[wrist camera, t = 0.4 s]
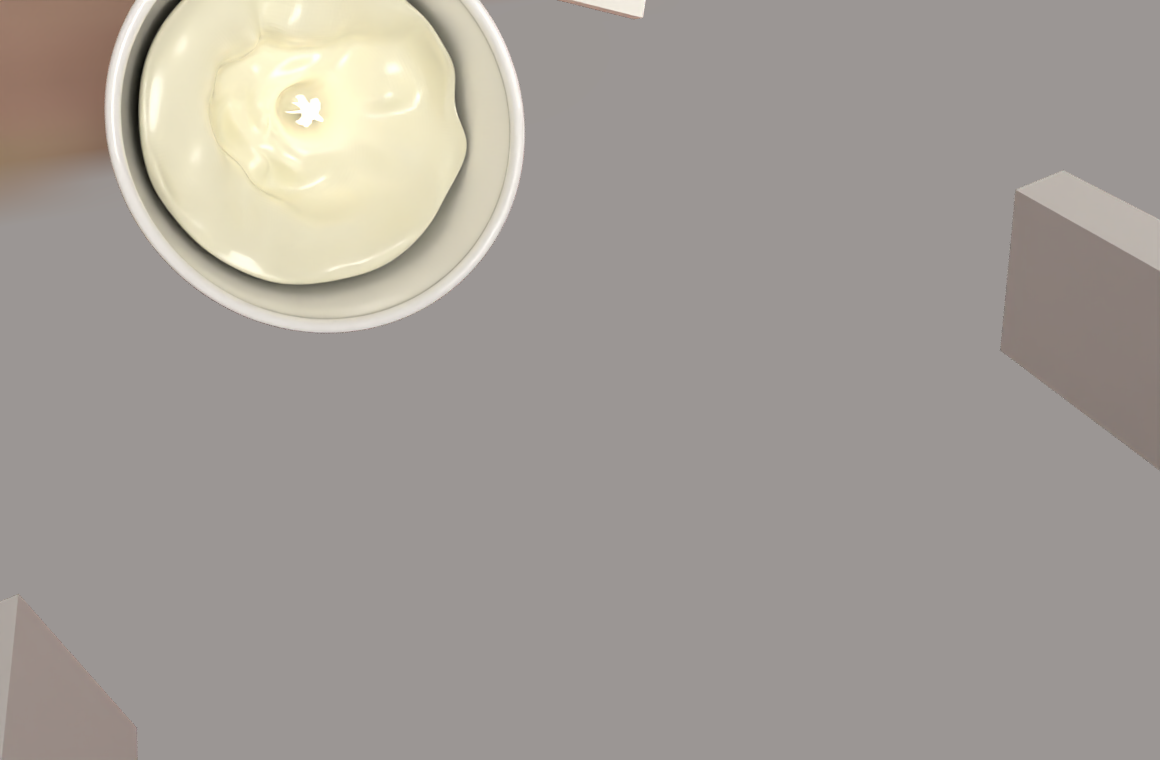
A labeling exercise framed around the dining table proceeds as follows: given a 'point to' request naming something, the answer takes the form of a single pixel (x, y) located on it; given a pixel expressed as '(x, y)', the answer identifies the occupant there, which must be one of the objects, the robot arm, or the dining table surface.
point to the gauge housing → (614, 6)
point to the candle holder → (316, 150)
